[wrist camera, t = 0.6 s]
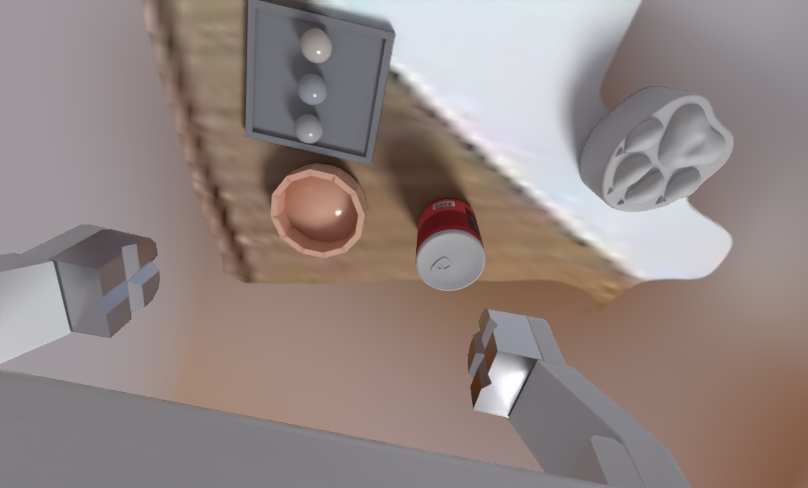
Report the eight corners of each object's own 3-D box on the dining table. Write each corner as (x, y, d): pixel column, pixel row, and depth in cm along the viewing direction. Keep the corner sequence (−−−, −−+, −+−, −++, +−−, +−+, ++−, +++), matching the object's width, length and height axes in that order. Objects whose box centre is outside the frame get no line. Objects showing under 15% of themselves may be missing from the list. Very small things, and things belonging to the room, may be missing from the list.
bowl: (283, 154, 50) (273, 161, 47) (374, 174, 51) (370, 182, 48) (278, 234, 56) (269, 246, 53) (359, 252, 56) (355, 264, 53)
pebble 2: (303, 69, 45) (294, 70, 42) (332, 75, 45) (325, 78, 42) (300, 99, 46) (291, 103, 43) (328, 106, 46) (321, 110, 43)
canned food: (407, 227, 54) (401, 268, 44) (443, 184, 51) (446, 217, 41) (449, 257, 56) (453, 303, 46) (487, 217, 52) (500, 257, 43)
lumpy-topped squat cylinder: (703, 137, 46) (757, 156, 39) (608, 210, 51) (639, 239, 43) (655, 72, 43) (703, 78, 36) (559, 155, 48) (583, 177, 41)
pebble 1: (306, 25, 43) (297, 23, 40) (337, 32, 43) (330, 31, 40) (304, 58, 44) (294, 59, 41) (333, 65, 44) (326, 67, 41)
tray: (252, -2, 42) (248, -3, 41) (395, 33, 43) (394, 33, 42) (249, 134, 49) (245, 136, 48) (372, 162, 50) (371, 165, 49)
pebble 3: (300, 108, 47) (291, 113, 44) (327, 115, 47) (320, 120, 44) (297, 136, 48) (288, 142, 45) (324, 142, 49) (317, 149, 46)
